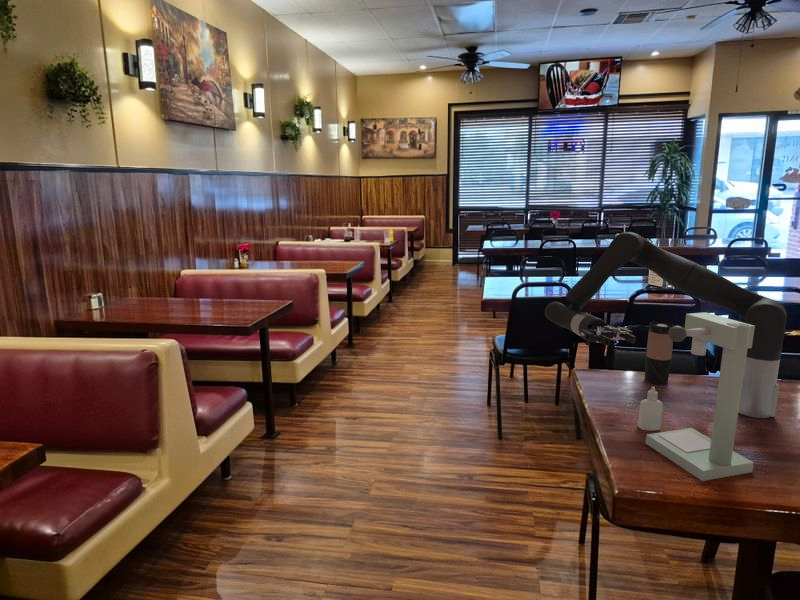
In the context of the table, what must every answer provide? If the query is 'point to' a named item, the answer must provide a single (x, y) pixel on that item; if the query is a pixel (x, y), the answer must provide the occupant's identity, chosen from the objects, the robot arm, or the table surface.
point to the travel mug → (658, 353)
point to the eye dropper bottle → (650, 412)
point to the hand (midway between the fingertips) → (622, 341)
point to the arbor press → (692, 446)
